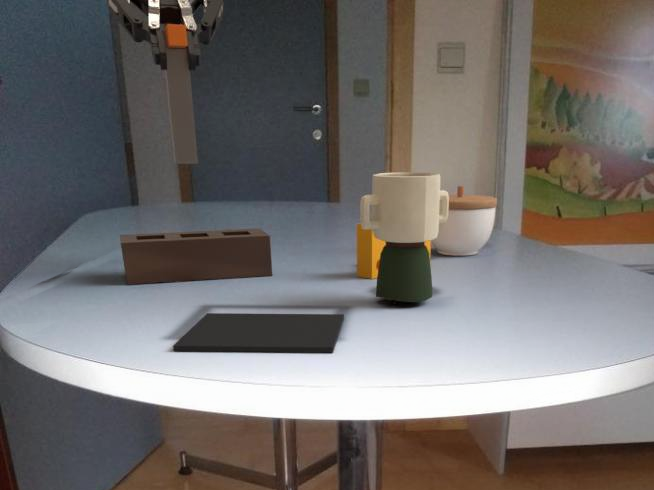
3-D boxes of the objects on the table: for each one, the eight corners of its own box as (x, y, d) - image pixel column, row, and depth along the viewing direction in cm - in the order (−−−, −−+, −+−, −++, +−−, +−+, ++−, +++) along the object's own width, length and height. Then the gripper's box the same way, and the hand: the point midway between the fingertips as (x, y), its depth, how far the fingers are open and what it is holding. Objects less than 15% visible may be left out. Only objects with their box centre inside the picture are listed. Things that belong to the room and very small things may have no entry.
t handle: (172, 162, 91) (158, 31, 85) (193, 161, 92) (181, 32, 85) (178, 165, 84) (164, 23, 78) (200, 165, 85) (188, 24, 79)
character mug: (425, 290, 85) (429, 170, 79) (463, 302, 79) (470, 173, 73) (345, 301, 80) (342, 174, 74) (379, 314, 74) (379, 178, 69)
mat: (173, 351, 63) (172, 345, 63) (207, 318, 73) (207, 313, 73) (333, 352, 62) (332, 347, 62) (344, 319, 73) (344, 314, 73)
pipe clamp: (405, 262, 102) (406, 214, 99) (430, 266, 99) (431, 216, 96) (347, 274, 94) (346, 222, 91) (371, 279, 91) (372, 225, 88)
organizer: (125, 274, 95) (119, 234, 93) (261, 266, 100) (259, 228, 98) (127, 285, 89) (120, 242, 87) (272, 275, 94) (270, 235, 91)
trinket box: (508, 254, 108) (513, 186, 104) (452, 260, 103) (455, 190, 99) (462, 245, 116) (466, 182, 112) (408, 251, 111) (409, 185, 107)
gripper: (92, -85, 81) (110, 31, 76) (217, -75, 85) (242, 36, 80) (100, -20, 88) (117, 90, 83) (215, -14, 92) (238, 92, 87)
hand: (178, 63), depth 81 cm, fingers closed on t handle, 2 cm apart
